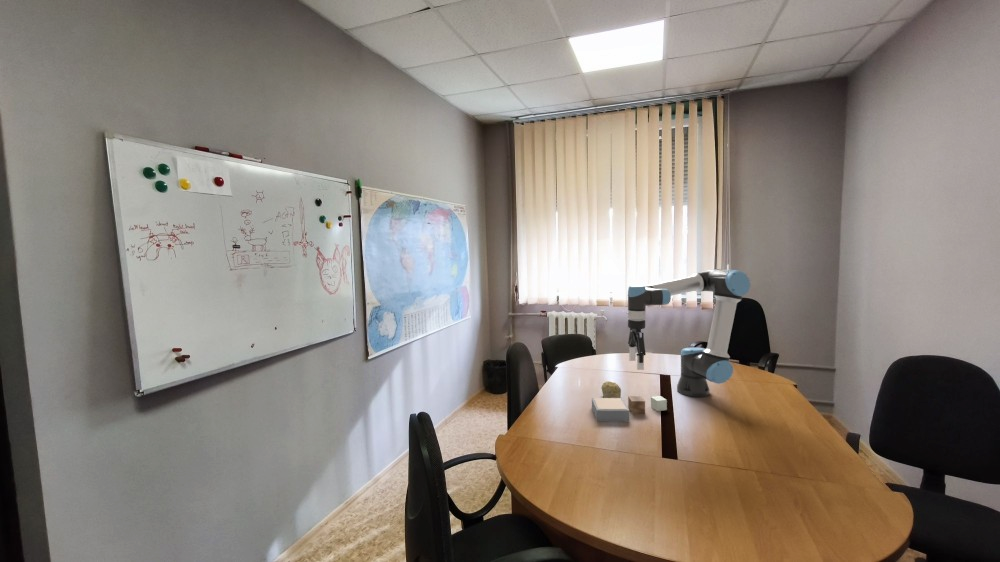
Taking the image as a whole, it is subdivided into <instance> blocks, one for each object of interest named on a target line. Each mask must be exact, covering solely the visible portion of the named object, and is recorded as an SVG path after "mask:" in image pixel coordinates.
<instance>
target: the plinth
mask: <svg viewBox="0 0 1000 562" xmlns="http://www.w3.org/2000/svg"><path fill="white" fill-rule="evenodd" d="M625 402H626V401H625V400H624V399H623V397H621V398H605V397H591V409H592V412H593V414H594V417H595V420H596V422H630V410H629V409H628V406H627V405H626V403H625Z"/></svg>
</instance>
